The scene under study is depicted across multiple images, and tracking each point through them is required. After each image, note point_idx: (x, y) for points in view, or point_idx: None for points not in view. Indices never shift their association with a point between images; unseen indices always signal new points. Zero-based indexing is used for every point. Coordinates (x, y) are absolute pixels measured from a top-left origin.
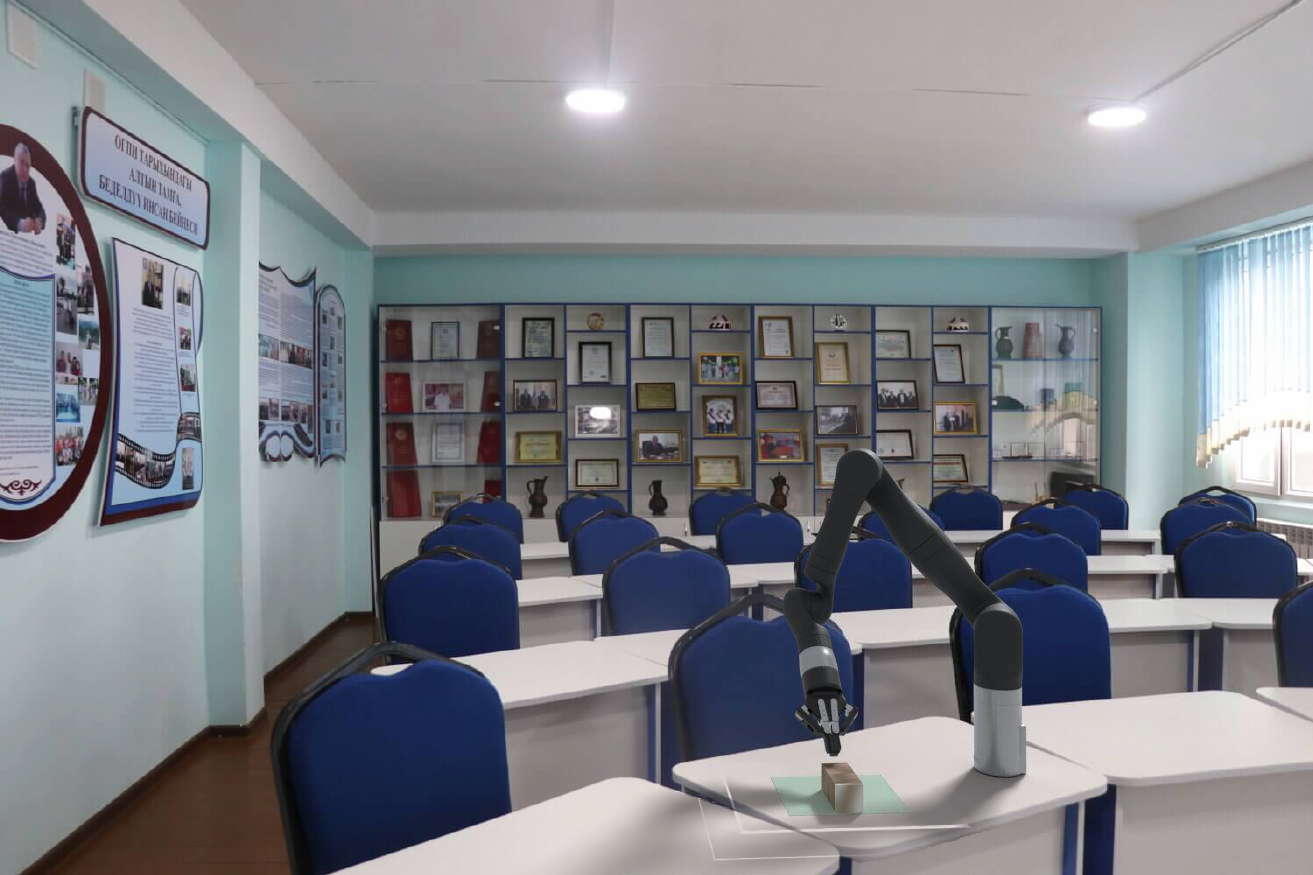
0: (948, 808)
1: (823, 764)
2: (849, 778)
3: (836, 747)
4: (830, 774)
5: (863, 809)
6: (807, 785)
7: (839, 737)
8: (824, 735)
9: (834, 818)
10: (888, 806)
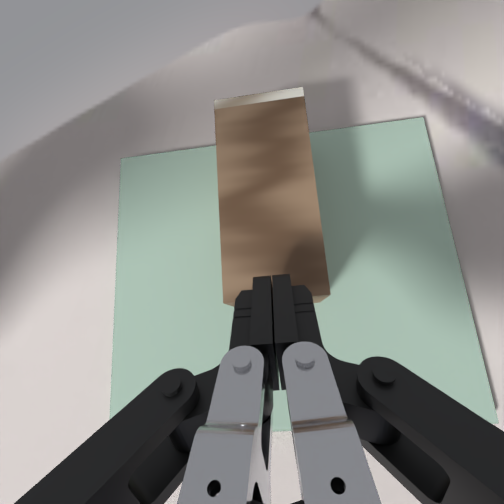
0: (30, 210)
1: (323, 278)
2: (247, 143)
3: (262, 285)
4: (308, 175)
5: None
6: (362, 335)
7: (230, 341)
8: (323, 348)
9: None
10: (161, 188)
